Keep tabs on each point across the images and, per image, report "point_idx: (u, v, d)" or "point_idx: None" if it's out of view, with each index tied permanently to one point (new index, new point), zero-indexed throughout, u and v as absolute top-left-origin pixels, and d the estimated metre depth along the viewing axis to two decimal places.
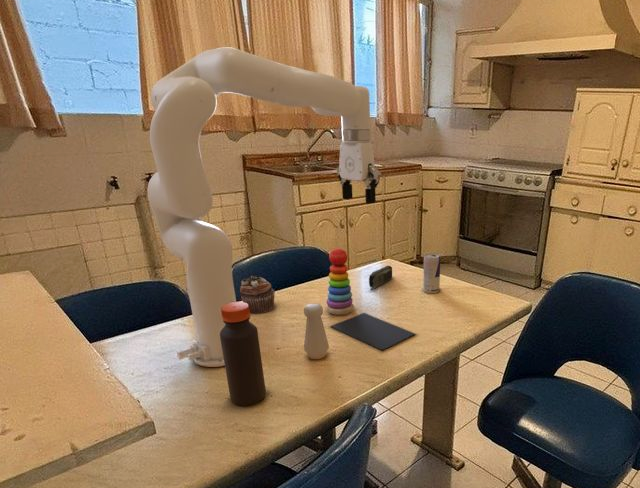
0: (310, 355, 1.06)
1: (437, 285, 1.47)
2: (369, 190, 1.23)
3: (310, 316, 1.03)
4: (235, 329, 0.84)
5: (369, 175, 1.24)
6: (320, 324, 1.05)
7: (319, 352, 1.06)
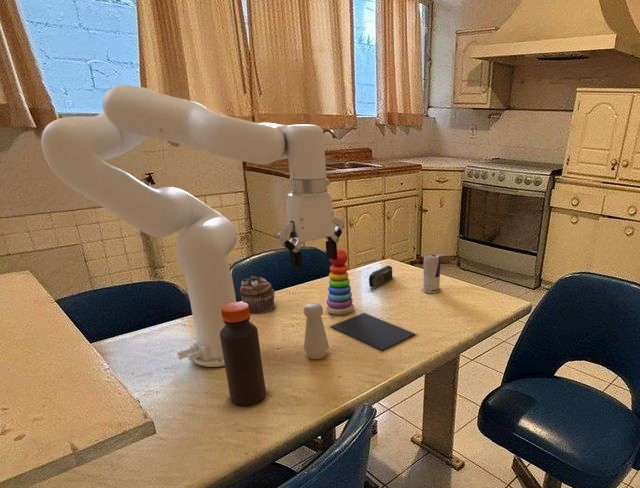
0: (310, 355, 1.06)
1: (437, 285, 1.47)
2: None
3: (310, 316, 1.03)
4: (235, 329, 0.84)
5: None
6: (320, 324, 1.05)
7: (319, 352, 1.06)
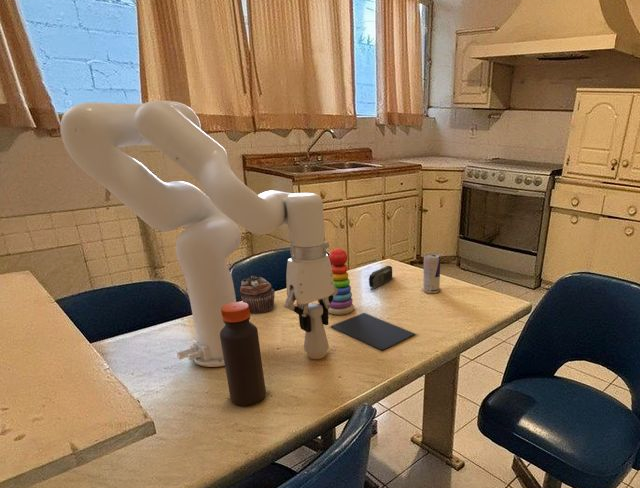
0: (310, 355, 1.06)
1: (437, 285, 1.47)
2: None
3: (311, 316, 1.03)
4: (235, 329, 0.84)
5: None
6: (320, 324, 1.05)
7: (319, 352, 1.06)
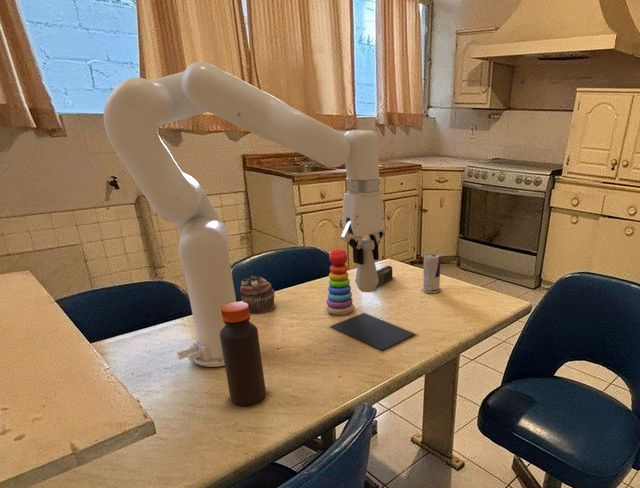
0: (362, 288, 1.13)
1: (437, 285, 1.47)
2: None
3: (364, 249, 1.10)
4: (235, 329, 0.84)
5: None
6: (372, 258, 1.12)
7: (371, 284, 1.13)
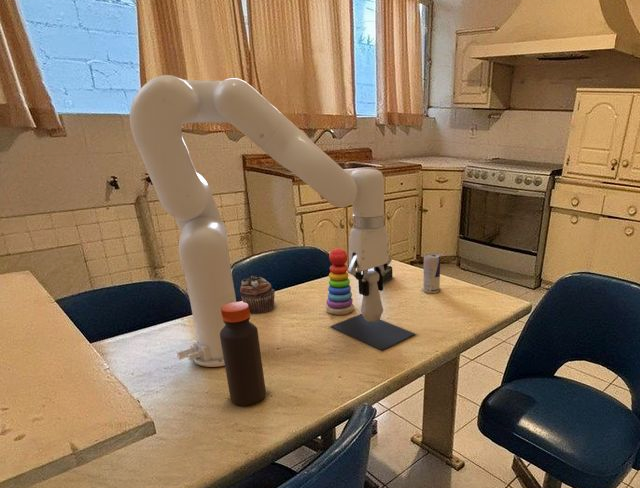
0: (367, 318, 1.18)
1: (437, 285, 1.47)
2: None
3: (369, 282, 1.14)
4: (235, 329, 0.84)
5: None
6: (377, 289, 1.16)
7: (376, 315, 1.17)
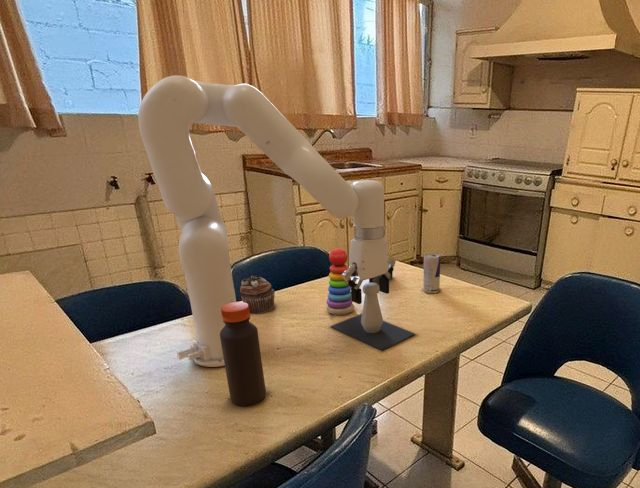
0: (367, 329, 1.19)
1: (437, 285, 1.47)
2: None
3: (369, 294, 1.15)
4: (235, 329, 0.84)
5: None
6: (377, 301, 1.17)
7: (376, 326, 1.18)
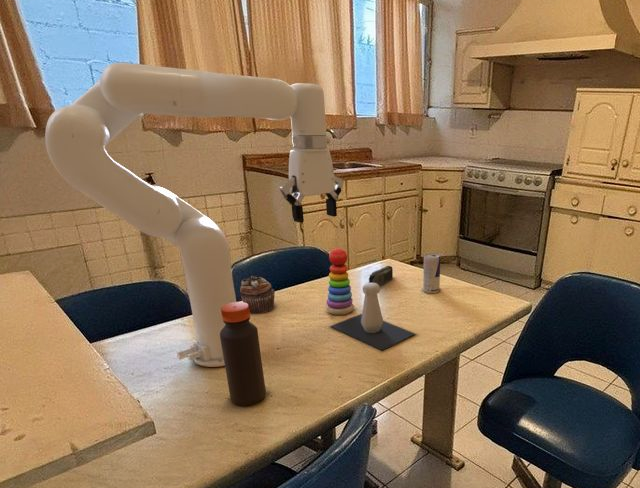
0: (367, 329, 1.19)
1: (437, 285, 1.47)
2: None
3: (369, 294, 1.15)
4: (235, 329, 0.84)
5: None
6: (377, 301, 1.17)
7: (376, 326, 1.18)
